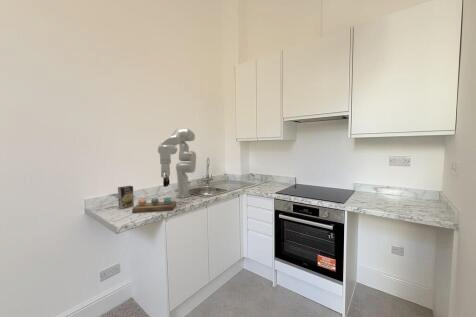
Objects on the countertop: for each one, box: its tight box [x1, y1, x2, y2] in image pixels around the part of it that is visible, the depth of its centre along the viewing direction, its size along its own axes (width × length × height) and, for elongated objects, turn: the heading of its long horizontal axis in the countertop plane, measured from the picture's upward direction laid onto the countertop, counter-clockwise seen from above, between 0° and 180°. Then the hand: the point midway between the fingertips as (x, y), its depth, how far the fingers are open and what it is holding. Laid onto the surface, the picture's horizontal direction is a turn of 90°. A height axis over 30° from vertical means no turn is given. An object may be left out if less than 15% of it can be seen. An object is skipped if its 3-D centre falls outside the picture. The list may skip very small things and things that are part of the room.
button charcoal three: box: [150, 197, 159, 204], centre depth 156 cm, size 5×5×3 cm
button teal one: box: [163, 197, 172, 203], centre depth 157 cm, size 5×5×3 cm
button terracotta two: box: [138, 198, 147, 205], centre depth 155 cm, size 5×5×3 cm
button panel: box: [131, 200, 177, 214], centre depth 156 cm, size 14×28×3 cm, turn 98°
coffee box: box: [117, 185, 135, 210], centre depth 162 cm, size 9×6×16 cm
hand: (166, 185), depth 157 cm, fingers open, 5 cm apart
